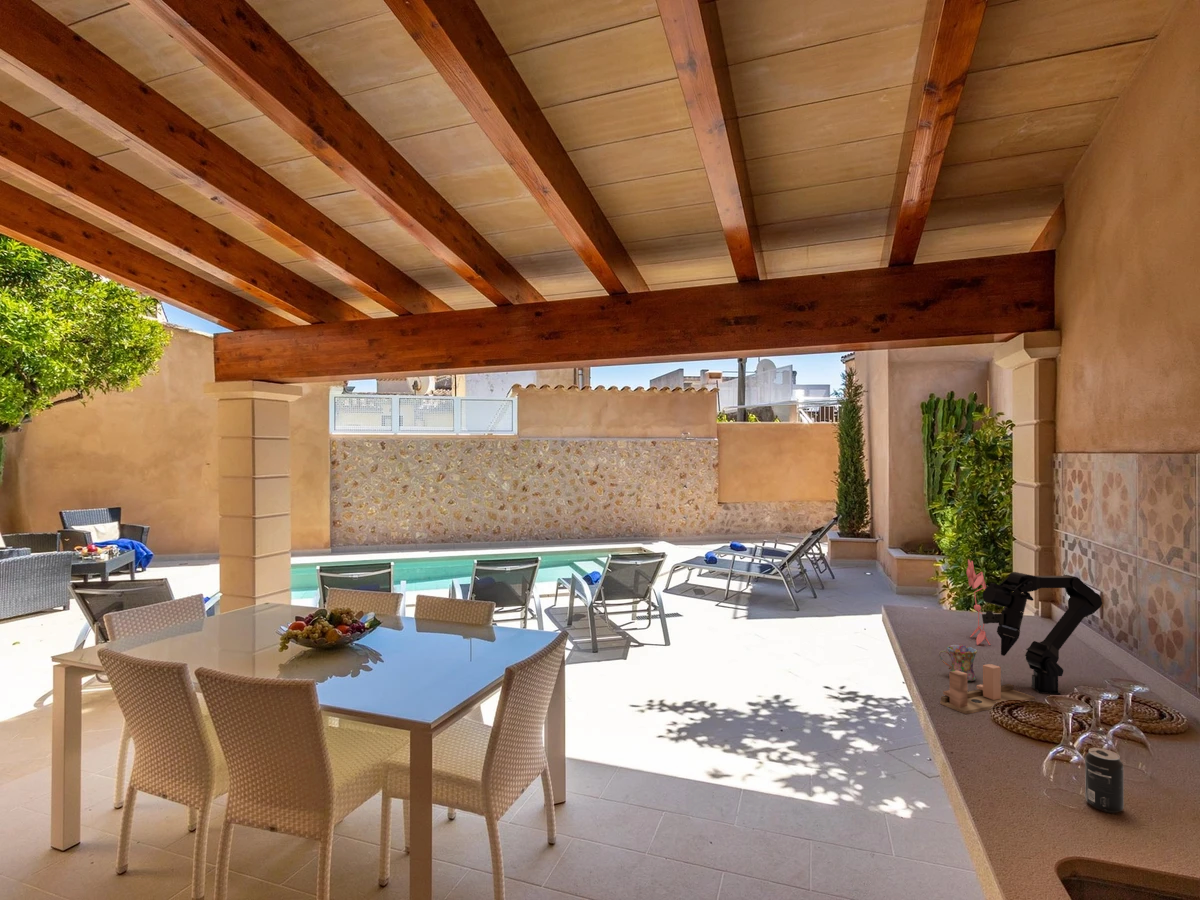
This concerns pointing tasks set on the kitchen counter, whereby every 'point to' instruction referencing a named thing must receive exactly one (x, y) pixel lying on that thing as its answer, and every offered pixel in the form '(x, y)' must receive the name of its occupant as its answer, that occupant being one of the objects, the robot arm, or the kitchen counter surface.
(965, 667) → the mug
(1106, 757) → the beverage can
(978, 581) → the figurine
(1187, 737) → the kitchen counter surface
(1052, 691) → the robot arm
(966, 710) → the trammel board
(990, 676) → the block
